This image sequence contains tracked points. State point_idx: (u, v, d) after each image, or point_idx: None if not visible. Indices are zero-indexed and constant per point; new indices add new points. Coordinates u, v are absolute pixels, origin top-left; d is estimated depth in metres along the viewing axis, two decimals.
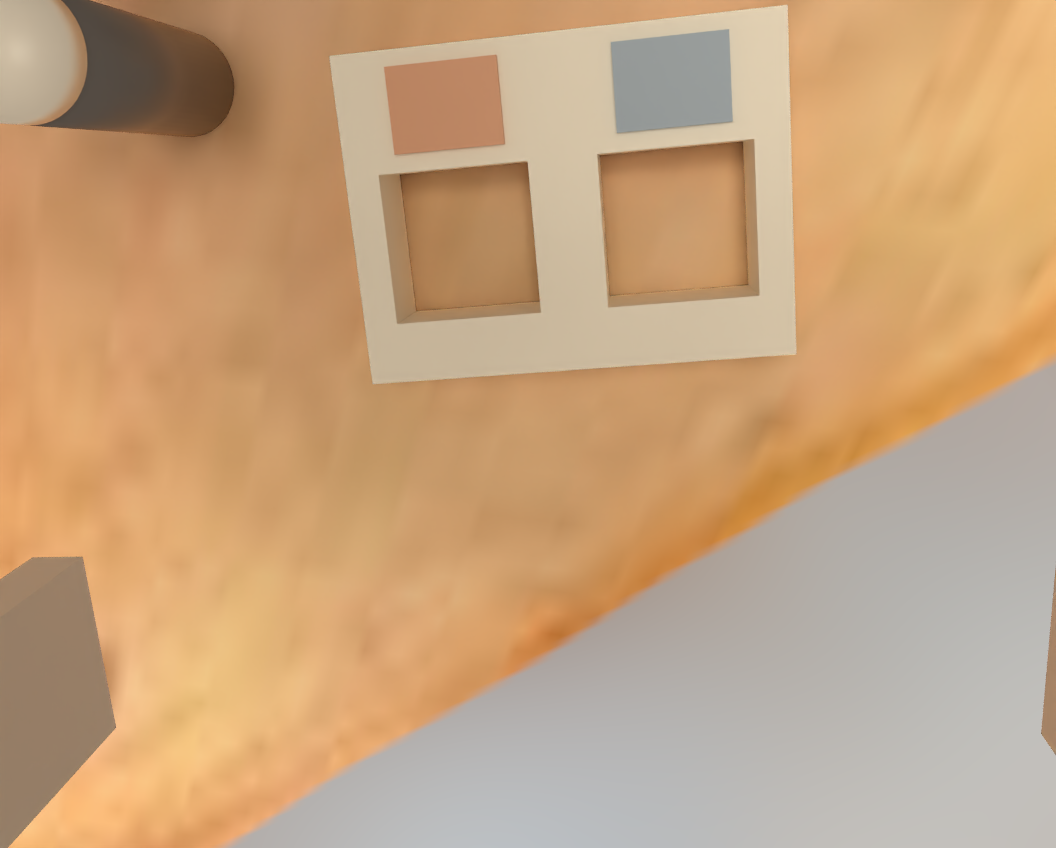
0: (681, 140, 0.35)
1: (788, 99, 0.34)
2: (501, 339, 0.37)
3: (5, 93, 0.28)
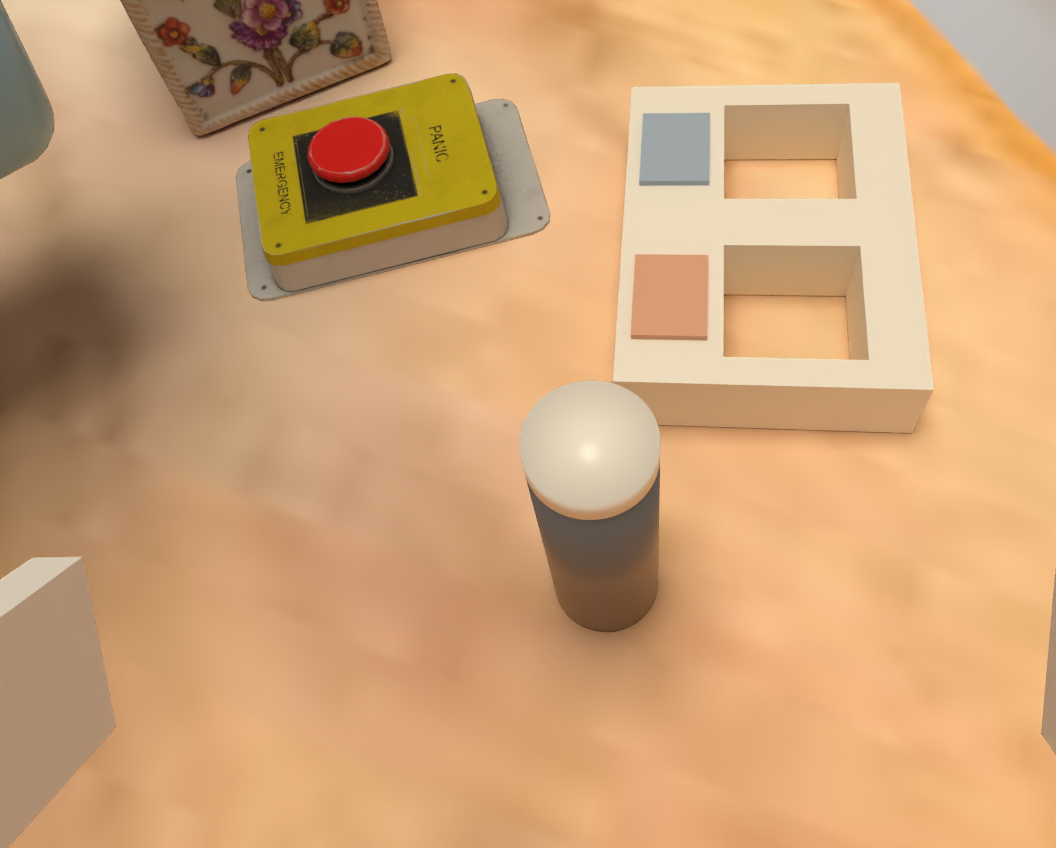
0: (719, 146, 0.44)
1: (698, 86, 0.45)
2: (886, 277, 0.39)
3: (630, 446, 0.28)
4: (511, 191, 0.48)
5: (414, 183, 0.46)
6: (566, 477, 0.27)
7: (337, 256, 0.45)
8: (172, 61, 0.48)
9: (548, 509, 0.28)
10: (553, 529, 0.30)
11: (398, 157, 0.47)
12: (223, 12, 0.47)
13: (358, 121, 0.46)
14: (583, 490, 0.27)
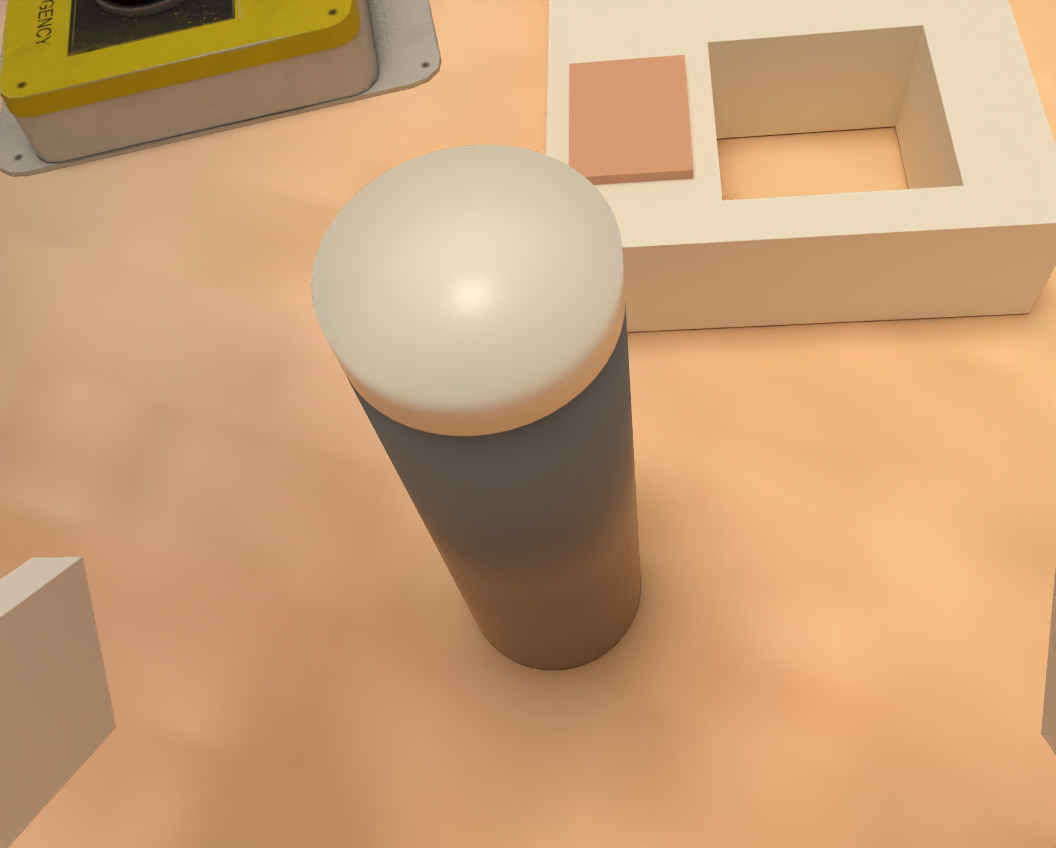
0: None
1: None
2: (971, 64, 0.24)
3: (556, 263, 0.12)
4: (389, 30, 0.33)
5: (233, 1, 0.31)
6: (414, 338, 0.12)
7: (114, 107, 0.30)
8: None
9: (388, 424, 0.13)
10: (414, 473, 0.14)
11: None
12: None
13: None
14: (452, 362, 0.12)
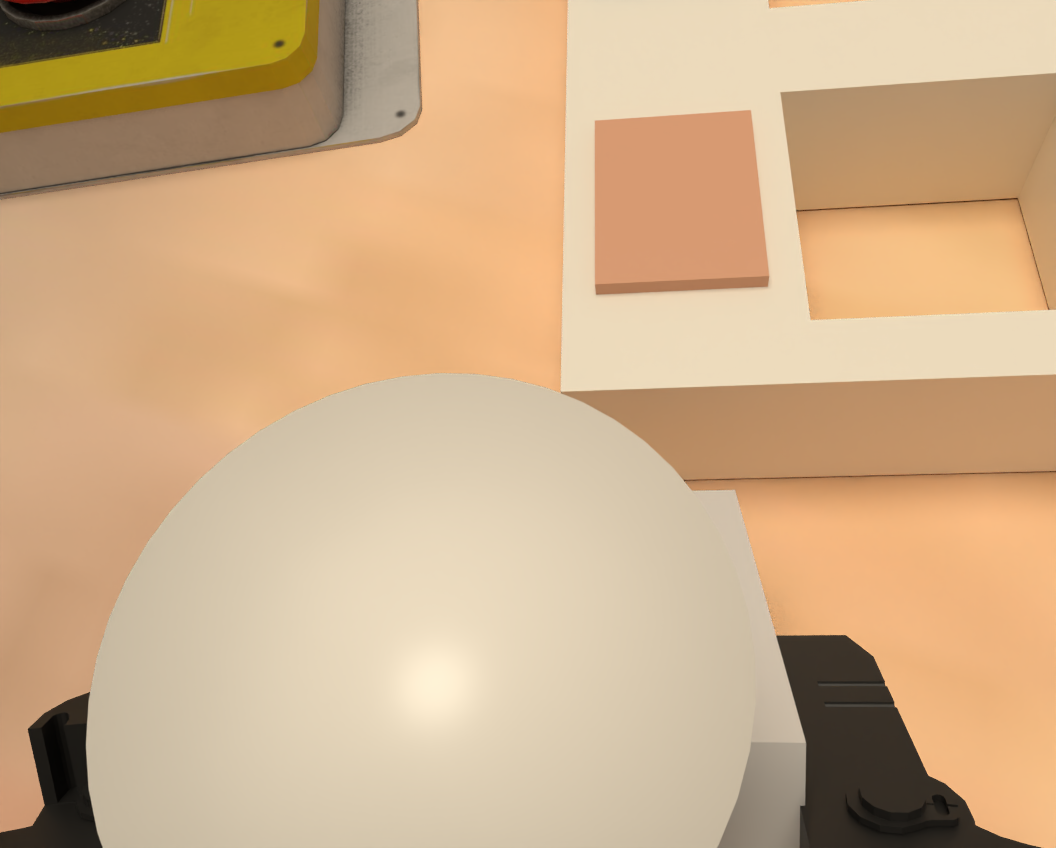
0: None
1: None
2: None
3: (609, 679, 0.06)
4: (364, 65, 0.26)
5: (162, 19, 0.24)
6: None
7: (4, 142, 0.24)
8: None
9: None
10: None
11: None
12: None
13: None
14: None
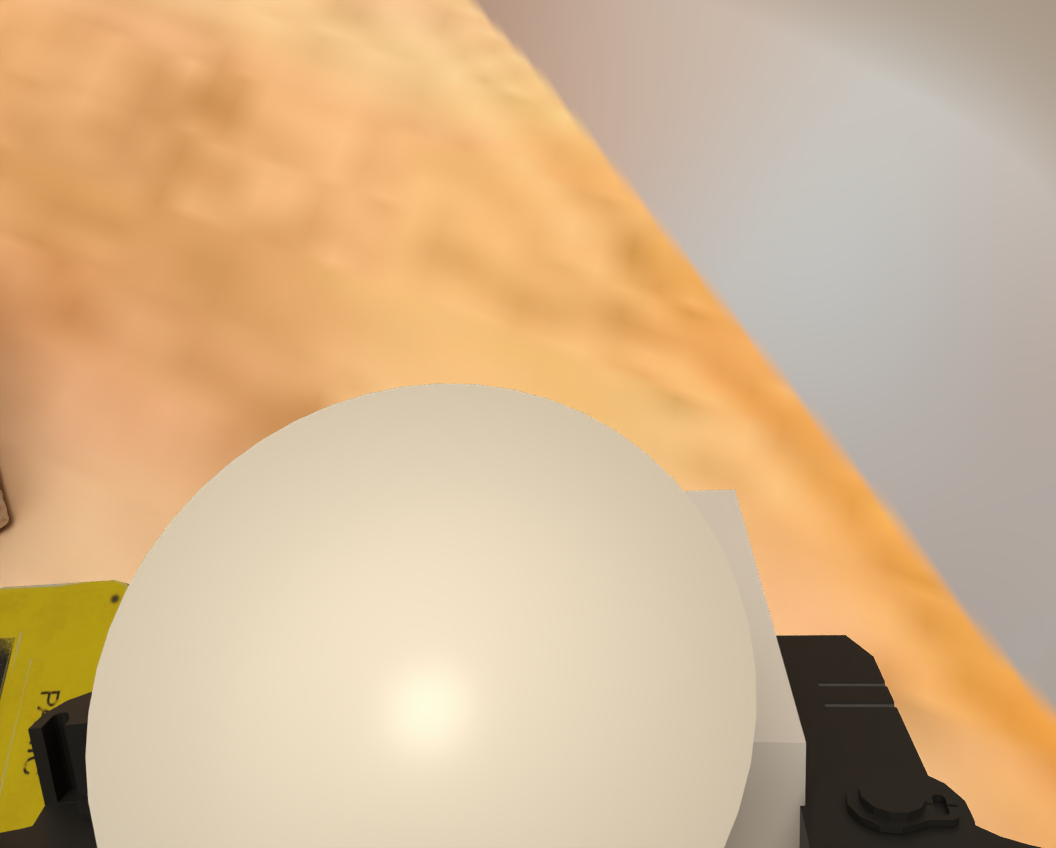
0: None
1: None
2: None
3: (610, 692, 0.06)
4: None
5: None
6: None
7: None
8: None
9: None
10: None
11: None
12: None
13: None
14: None
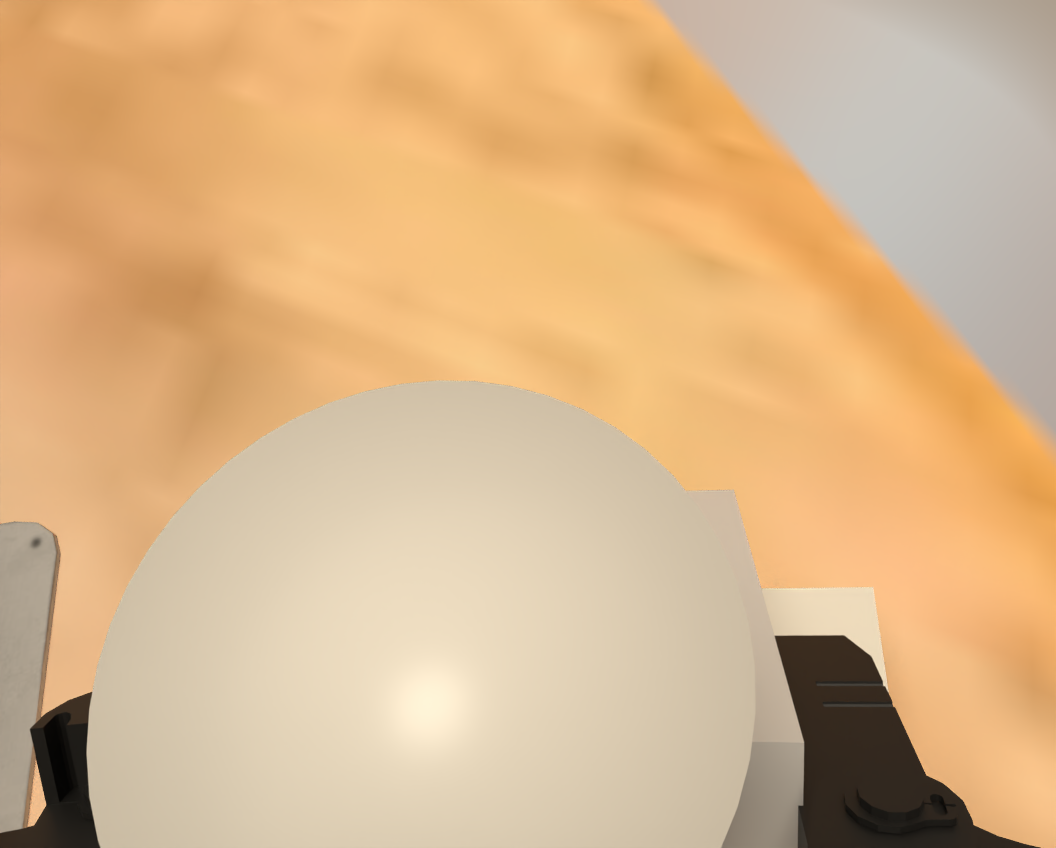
0: None
1: None
2: None
3: (609, 688, 0.06)
4: None
5: None
6: None
7: None
8: None
9: None
10: None
11: None
12: None
13: None
14: None
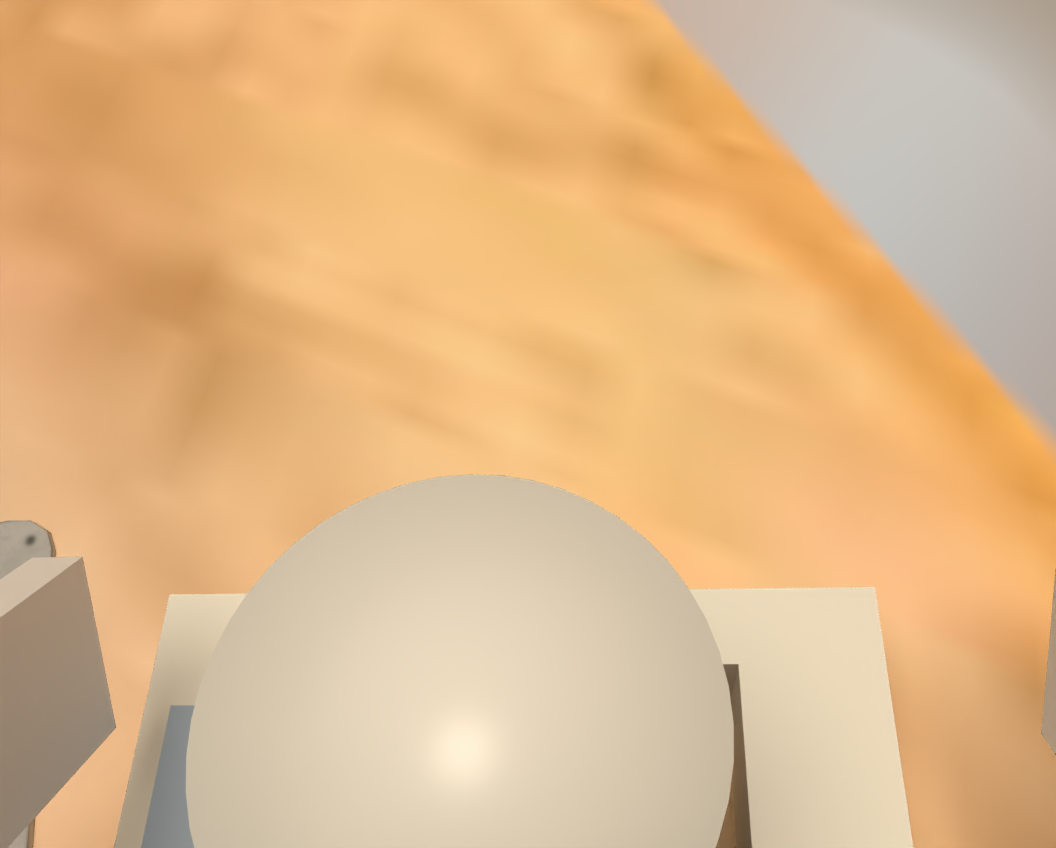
0: None
1: None
2: None
3: (615, 741, 0.07)
4: None
5: None
6: None
7: None
8: None
9: None
10: None
11: None
12: None
13: None
14: None
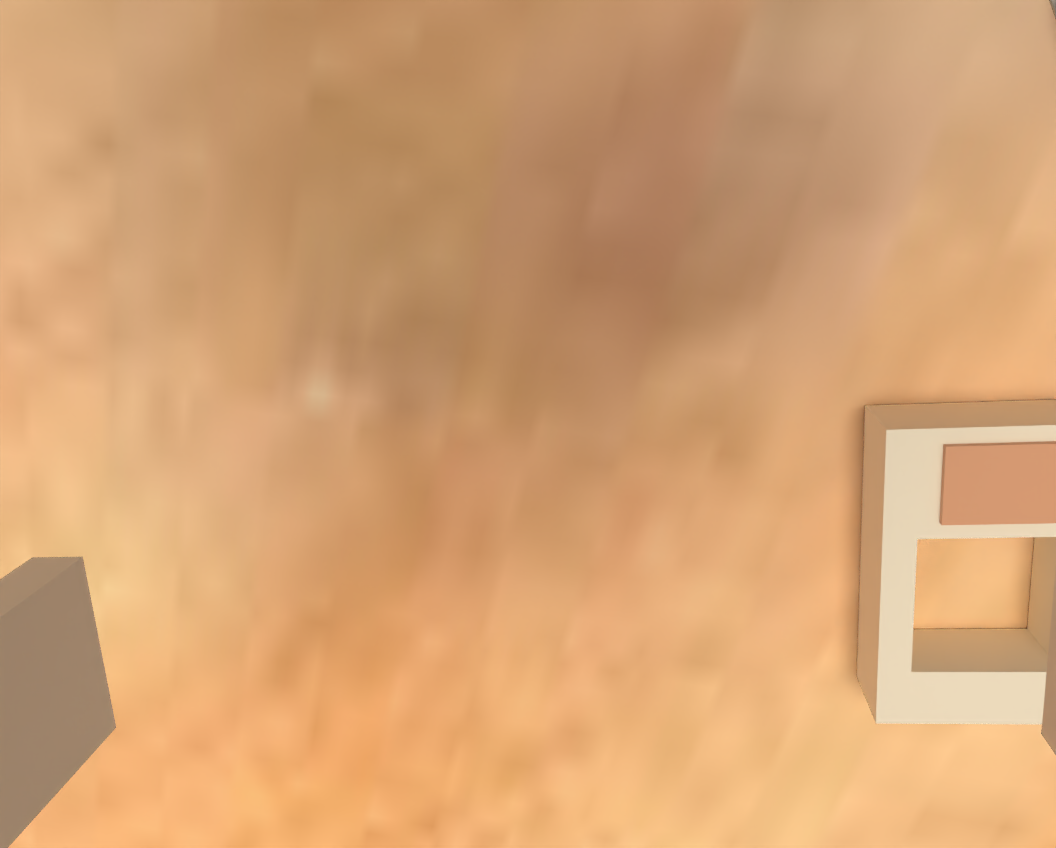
0: None
1: None
2: (1016, 693, 0.38)
3: None
4: None
5: None
6: None
7: None
8: None
9: None
10: None
11: None
12: None
13: None
14: None
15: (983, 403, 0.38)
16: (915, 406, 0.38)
